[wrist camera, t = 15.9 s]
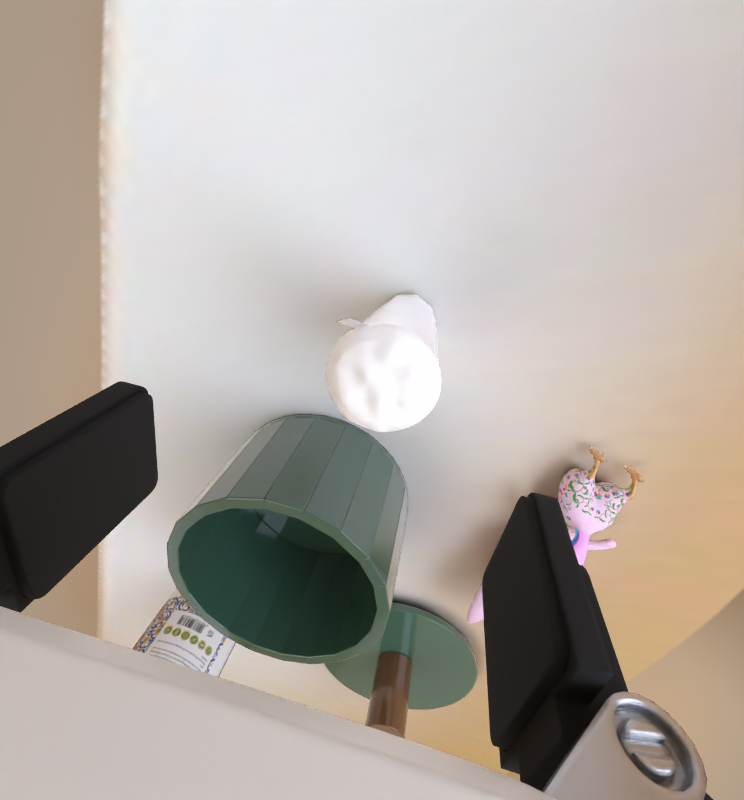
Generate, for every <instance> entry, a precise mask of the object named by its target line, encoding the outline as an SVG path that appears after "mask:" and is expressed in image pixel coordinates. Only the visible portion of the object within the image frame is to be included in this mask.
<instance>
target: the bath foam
mask: <svg viewBox="0 0 744 800" xmlns="http://www.w3.org/2000/svg"><path fill="white" fill-rule="evenodd" d="M235 643H236V642H235V641H233V640H231V639H229V638H227V637H225V636H224V635H222V634H221V633H219V632H218V631H217V630H216V629H214V628H213V627H212V626H211V625H209V624H208V623H207V622H206V621H204V620H203V619H202V618H201V617H199V615H197V614H196V612H195V611H194V610H193V609H192V608H191V606H190V605H189V604H188V603H187V601H186V600H185V599H184V598H183V597H182V595H181V594H180V593H179V591H178V589H177V588H176V589H175V591H174V592H173V593H172V595H171V596H170V598H169V599H168V600H167V602H166V603H165V604H164V606H163V607H162V608H161V610H160V611H159V613H158V614H157V615H156V617H155V618H154V620H153V621H152V622H151V624H150V625H149V626H148V628H147V629H146V631H145V632H144V633H143V635H142V636H141V638H140V639H139V640H138V642H137V643H136V645H135V646H134V647H133V650H136V651H139V652H142V653H145V654H148V655H151V656H154V657H157V658H161V659H164V660H167V661H170V662H173V663H176V664H179V665H182V666H185V667H188V668H191V669H195V670H198V671H201V672H204V673H207V674H210V675H213V676H216V677H219V675H220V673H221V671H222V669H223V667H224V665H225V663H226V661H227V659H228V657H229V655H230V653H231V651H232V649H233V647H234V645H235Z"/></svg>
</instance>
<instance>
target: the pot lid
mask: <svg viewBox="0 0 744 800" xmlns="http://www.w3.org/2000/svg"><path fill="white" fill-rule="evenodd" d="M324 664H325V666H326V667H327V669H328V670H329V671H330V672H331V673H332V675H333V676H334V677H335V678H336V679H338V680H339V681H340V682H341V683H342V684H344V685H345V686H346V687H348V688H349V689H351V690H352V691H354V692H356V693H358V694H360V695H361V696H364V697H366V698H368V699H370V702H369V708H368V713H367V719H366V724H365V726H368V727H371V728H374V729H377V730H380V731H383V732H386V733H389V734H393V735H395V736H398V737H401V738H404V739H405V731H406V721H407V712H408V709H434V708H440V707H444V706H447V705H450V704H453V703H455V702H457V701H459V700H460V699H462V698H464V697H465V696H466V695H467V694H468V693H469V692H470V691H471V689H472V688H473V686H474V684H475V682H476V678H477V661H476V657H475V654H474V652H473V649H472V647H471V646H470V644H469V643H468V641H467V640H466V639H465V638H464V636H463V635H462V634H461V633H460V632H459V631H458V630H456V629H455V628H454V627H453V626H452V625H450V624H449V623H447V622H446V621H444V620H443V619H441V618H439V617H437V616H436V615H434V614H431V613H429V612H427V611H425V610H422V609H419V608H416V607H413V606H409V605H405V604H400V603H394V602H392V605H391V611H390V615H389V618H388V621H387V624H386V627H385V630H384V633H383V635H382V636H381V637H380V638H379V639H378V640H377V641H376V642H375V643H374V644H373V645H372V646H371V647H370V648H369V649H368V650H367V651H366V652H364V653H361V654H359V655H356V656H354V657H351V658H348V659H346V660H343V661H340V662H331V663H324Z"/></svg>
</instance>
